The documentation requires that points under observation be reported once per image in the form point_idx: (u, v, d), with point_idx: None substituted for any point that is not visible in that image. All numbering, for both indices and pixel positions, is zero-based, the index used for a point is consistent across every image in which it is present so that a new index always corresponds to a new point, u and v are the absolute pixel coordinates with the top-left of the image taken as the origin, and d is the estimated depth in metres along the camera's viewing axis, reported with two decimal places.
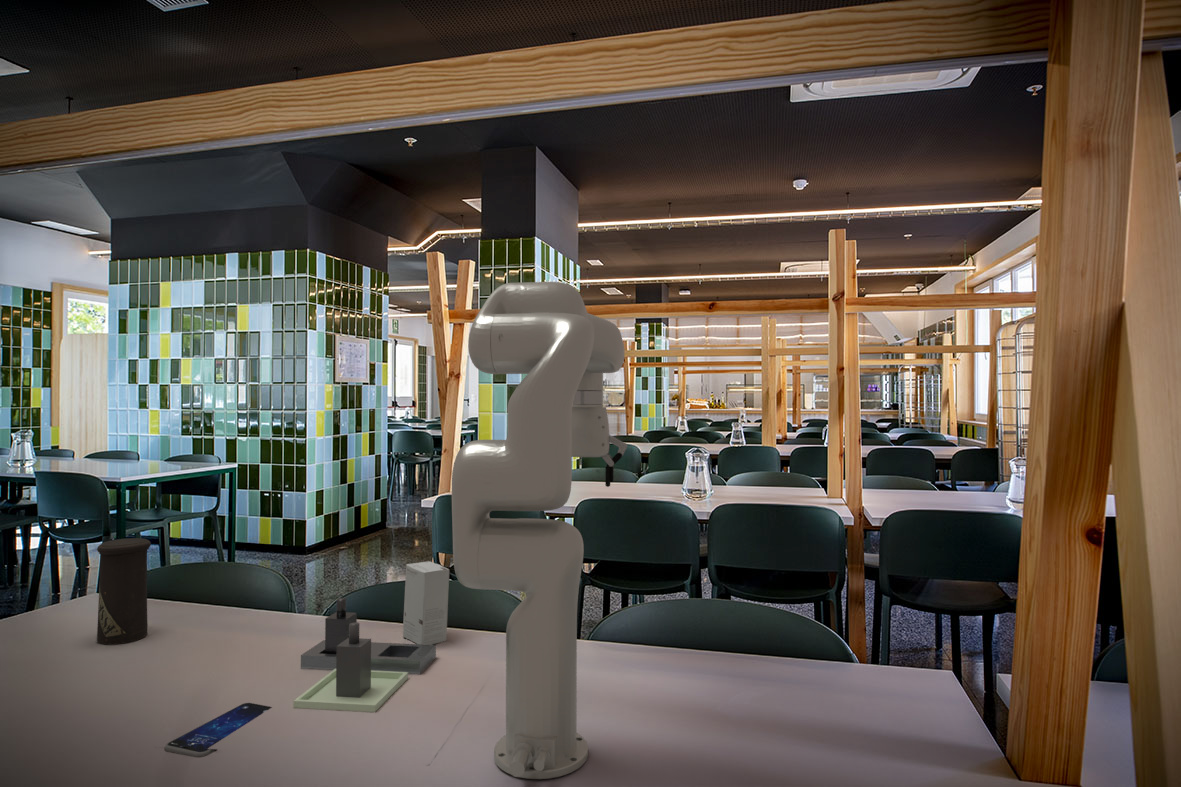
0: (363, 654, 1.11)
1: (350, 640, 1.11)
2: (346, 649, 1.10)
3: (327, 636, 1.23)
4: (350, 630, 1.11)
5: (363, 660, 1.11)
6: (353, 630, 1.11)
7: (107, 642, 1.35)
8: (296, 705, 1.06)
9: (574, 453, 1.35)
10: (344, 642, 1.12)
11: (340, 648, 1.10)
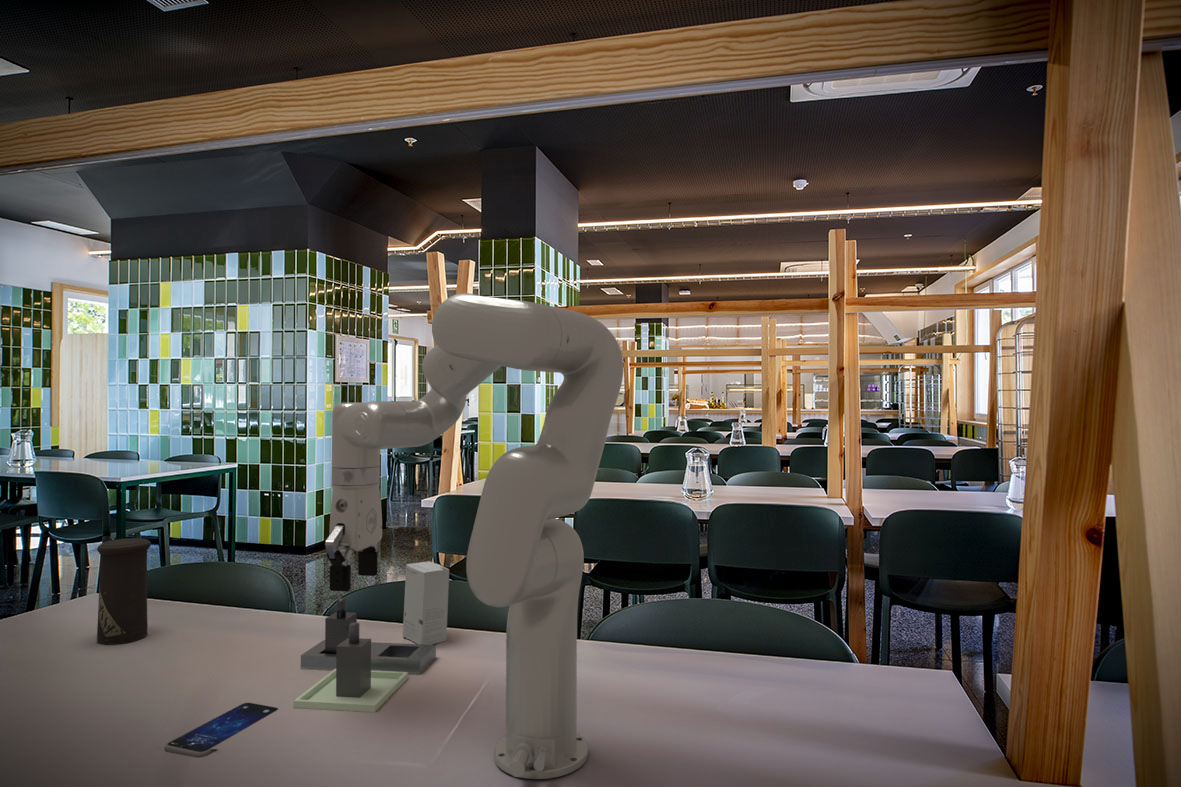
0: (363, 654, 1.11)
1: (350, 640, 1.11)
2: (346, 649, 1.10)
3: (327, 636, 1.23)
4: (350, 630, 1.11)
5: (363, 660, 1.11)
6: (353, 630, 1.11)
7: (107, 642, 1.35)
8: (296, 705, 1.06)
9: (367, 543, 1.10)
10: (344, 642, 1.12)
11: (340, 648, 1.10)
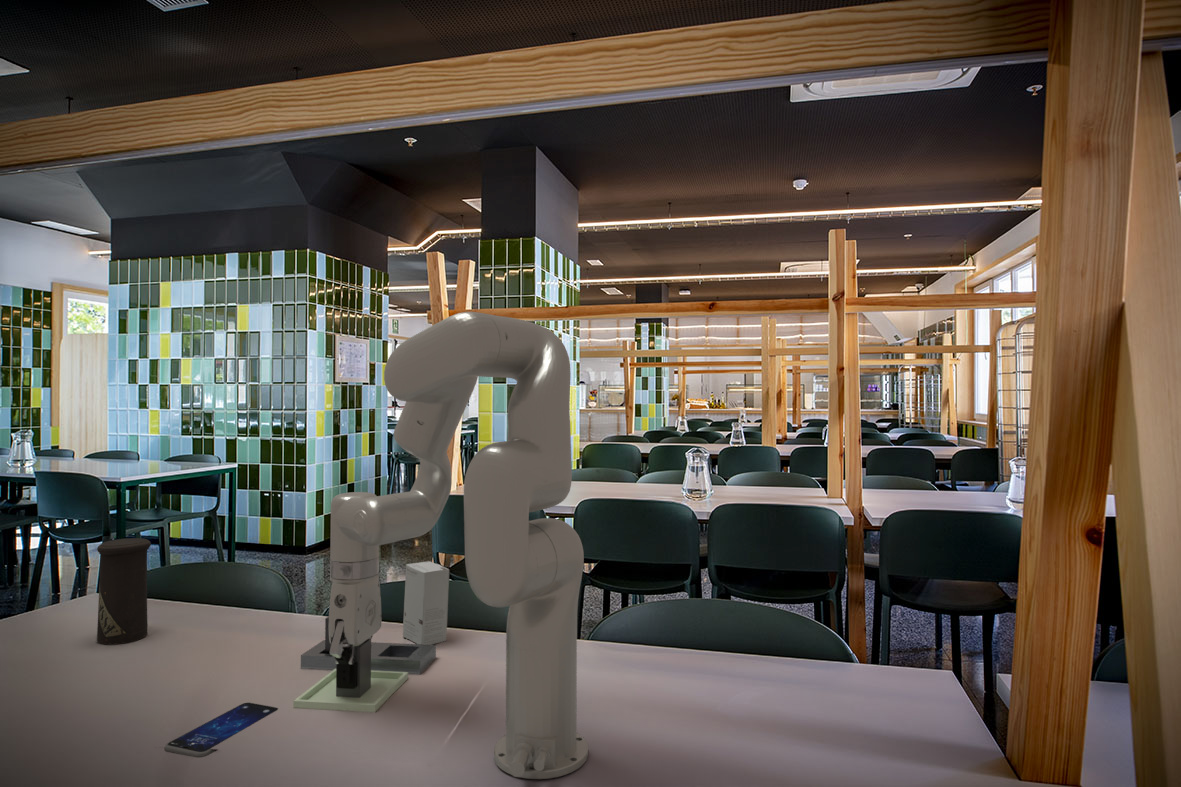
0: (363, 654, 1.11)
1: None
2: (346, 649, 1.10)
3: (327, 636, 1.23)
4: None
5: (363, 660, 1.11)
6: None
7: (107, 642, 1.35)
8: (296, 705, 1.06)
9: (366, 637, 1.10)
10: None
11: None
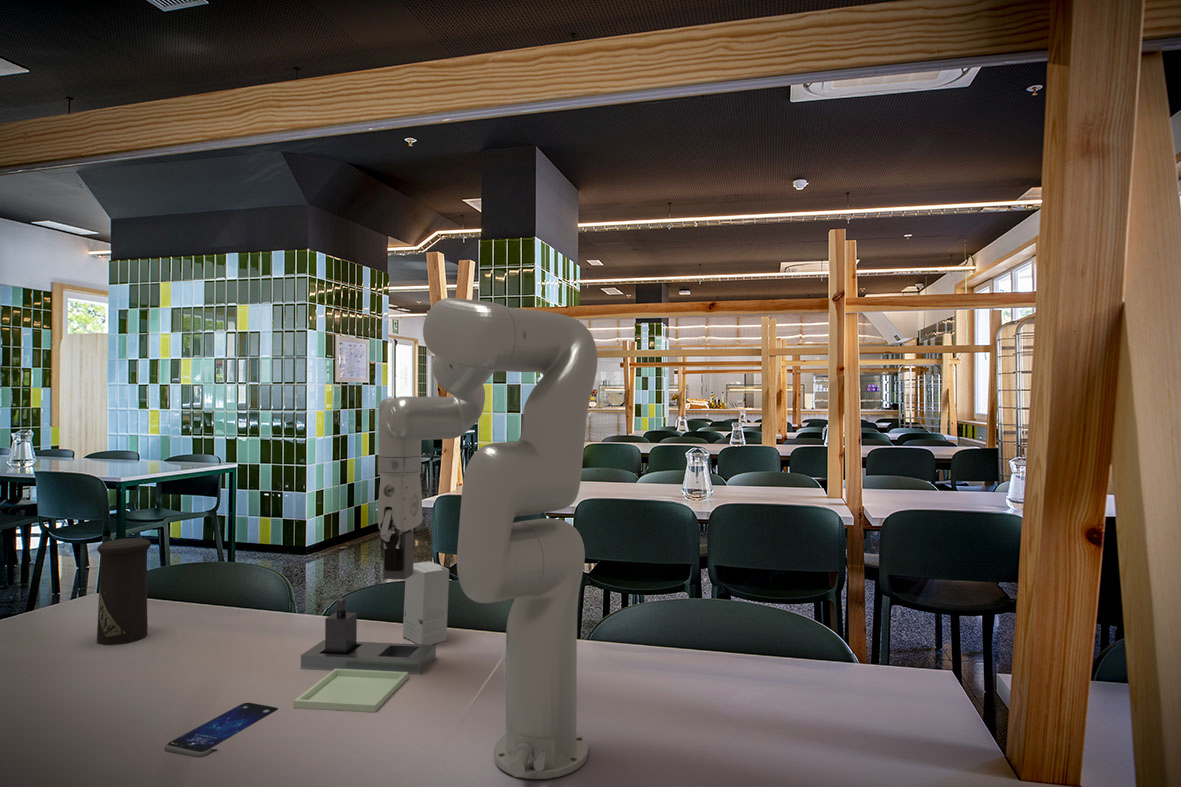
0: (407, 542, 1.23)
1: (395, 529, 1.24)
2: None
3: (327, 636, 1.23)
4: None
5: (407, 546, 1.23)
6: None
7: (107, 642, 1.35)
8: (296, 705, 1.06)
9: (411, 525, 1.22)
10: None
11: None
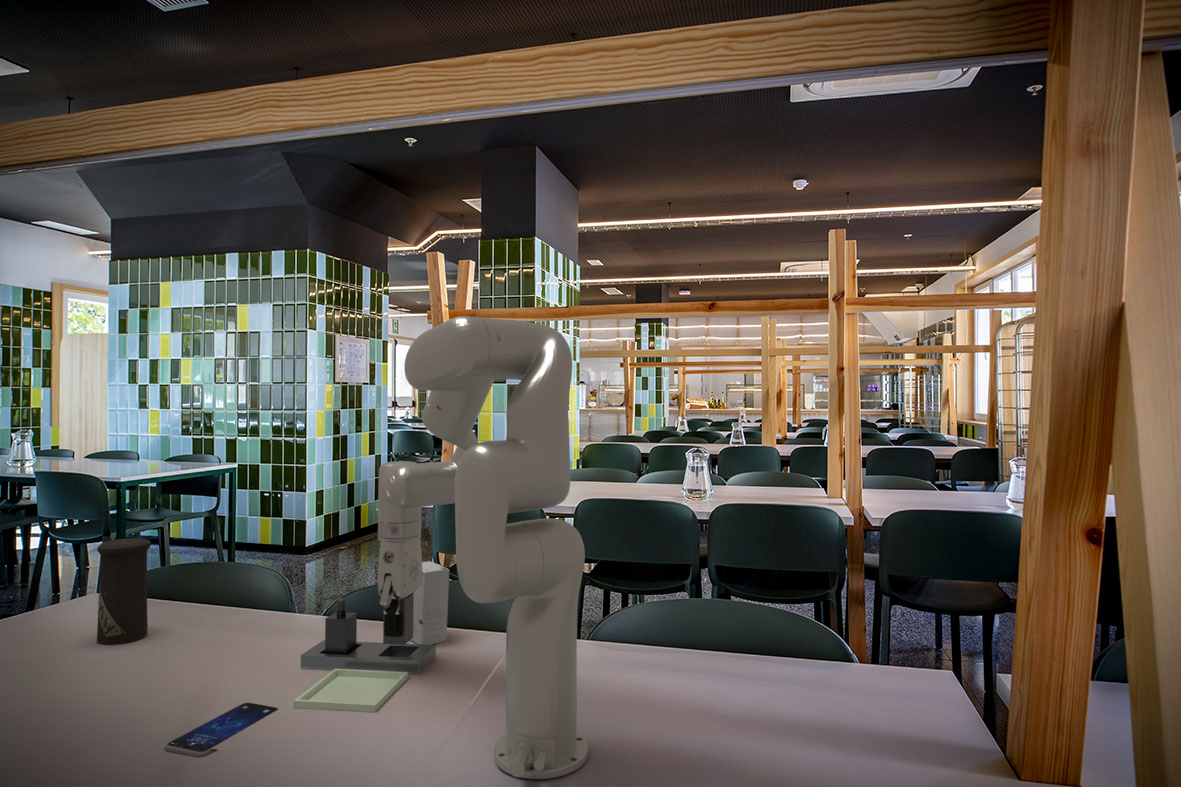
0: (407, 606, 1.23)
1: (395, 594, 1.23)
2: (392, 601, 1.22)
3: (327, 636, 1.23)
4: None
5: (407, 611, 1.23)
6: None
7: (107, 642, 1.35)
8: (296, 705, 1.06)
9: (410, 590, 1.22)
10: None
11: None
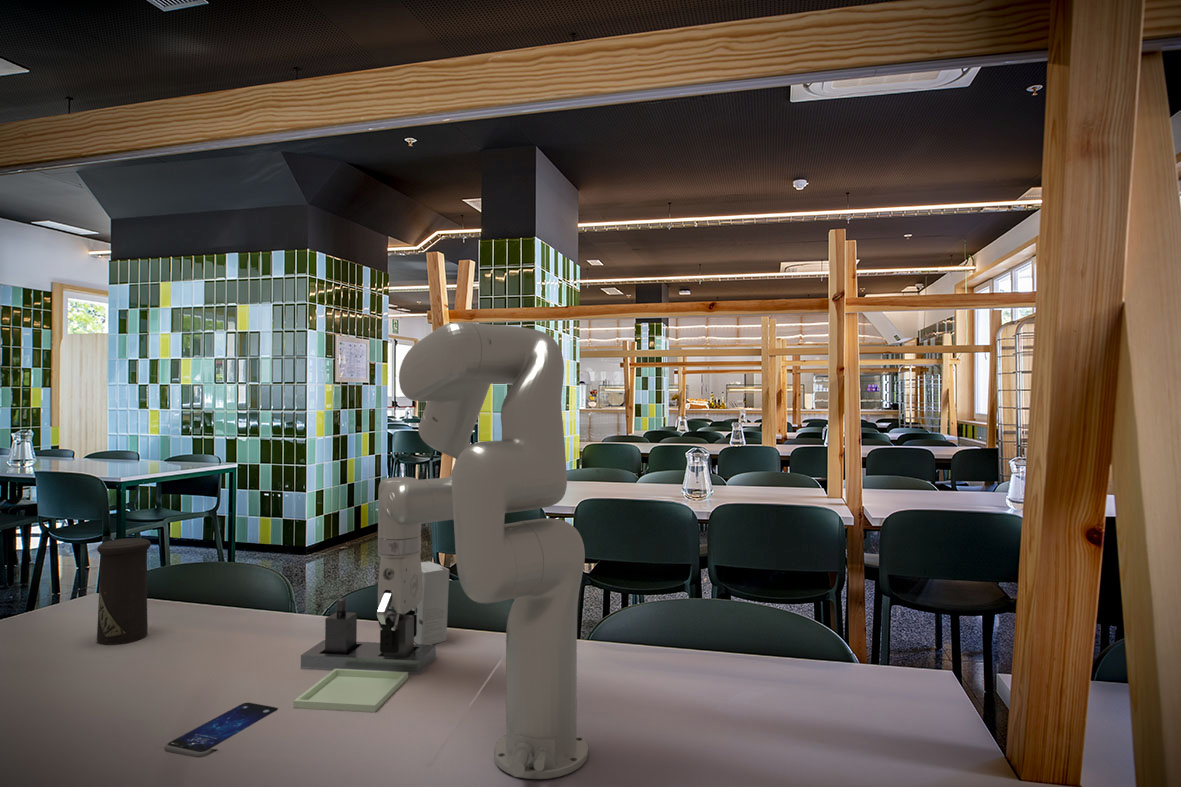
0: (408, 628, 1.23)
1: None
2: None
3: (327, 636, 1.23)
4: None
5: (407, 633, 1.23)
6: None
7: (107, 642, 1.35)
8: (296, 705, 1.06)
9: (410, 607, 1.22)
10: (390, 618, 1.24)
11: None
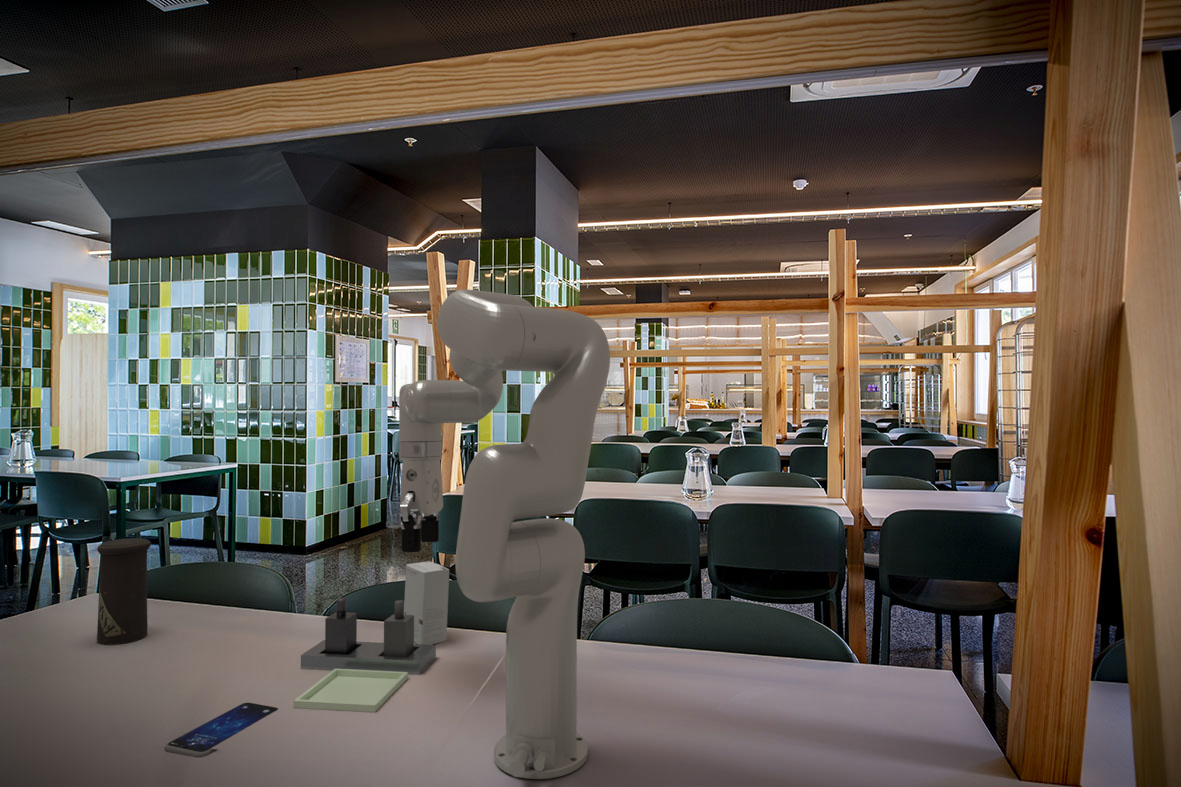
0: (408, 628, 1.23)
1: (396, 616, 1.23)
2: (392, 623, 1.22)
3: (327, 636, 1.23)
4: (396, 607, 1.23)
5: (407, 633, 1.23)
6: (398, 607, 1.23)
7: (107, 642, 1.35)
8: (296, 705, 1.06)
9: (433, 510, 1.22)
10: (390, 618, 1.24)
11: (387, 623, 1.22)
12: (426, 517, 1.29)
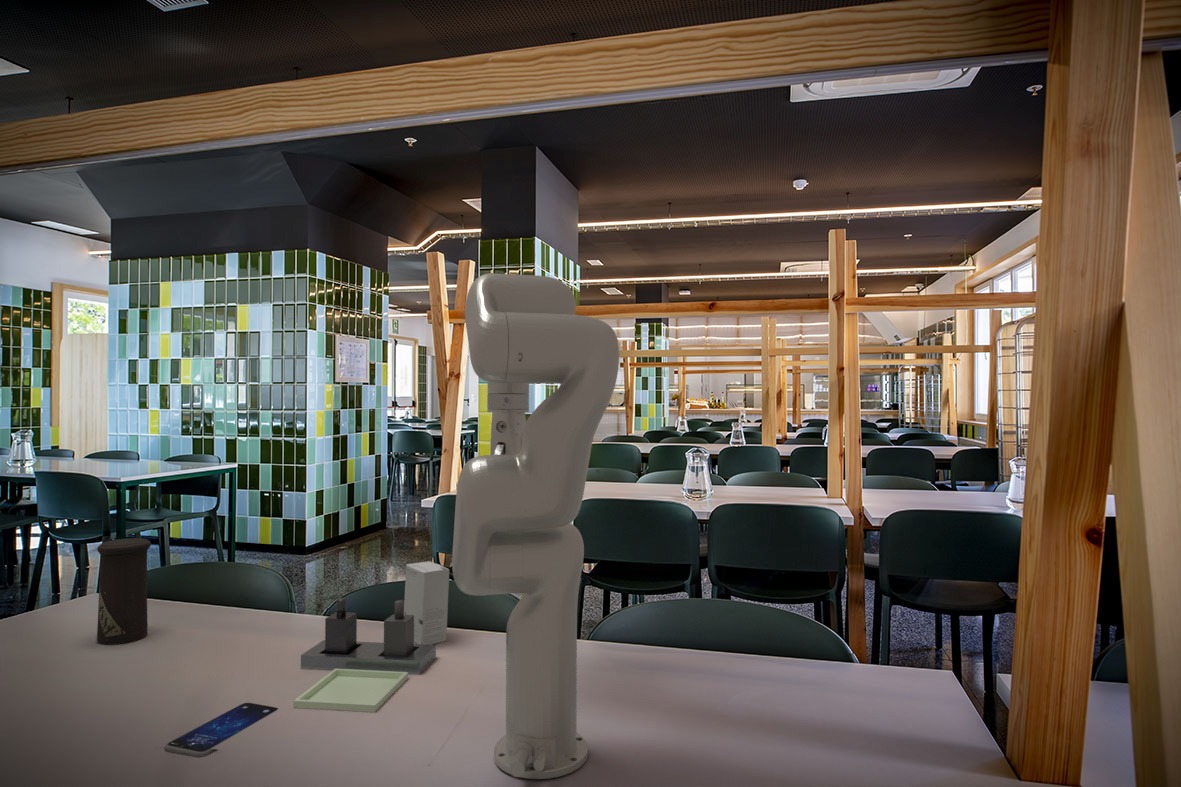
0: (408, 628, 1.23)
1: (396, 616, 1.23)
2: (392, 623, 1.22)
3: (327, 636, 1.23)
4: (396, 607, 1.23)
5: (407, 633, 1.23)
6: (398, 607, 1.23)
7: (107, 642, 1.35)
8: (296, 705, 1.06)
9: None
10: (390, 618, 1.24)
11: (387, 623, 1.22)
12: None
